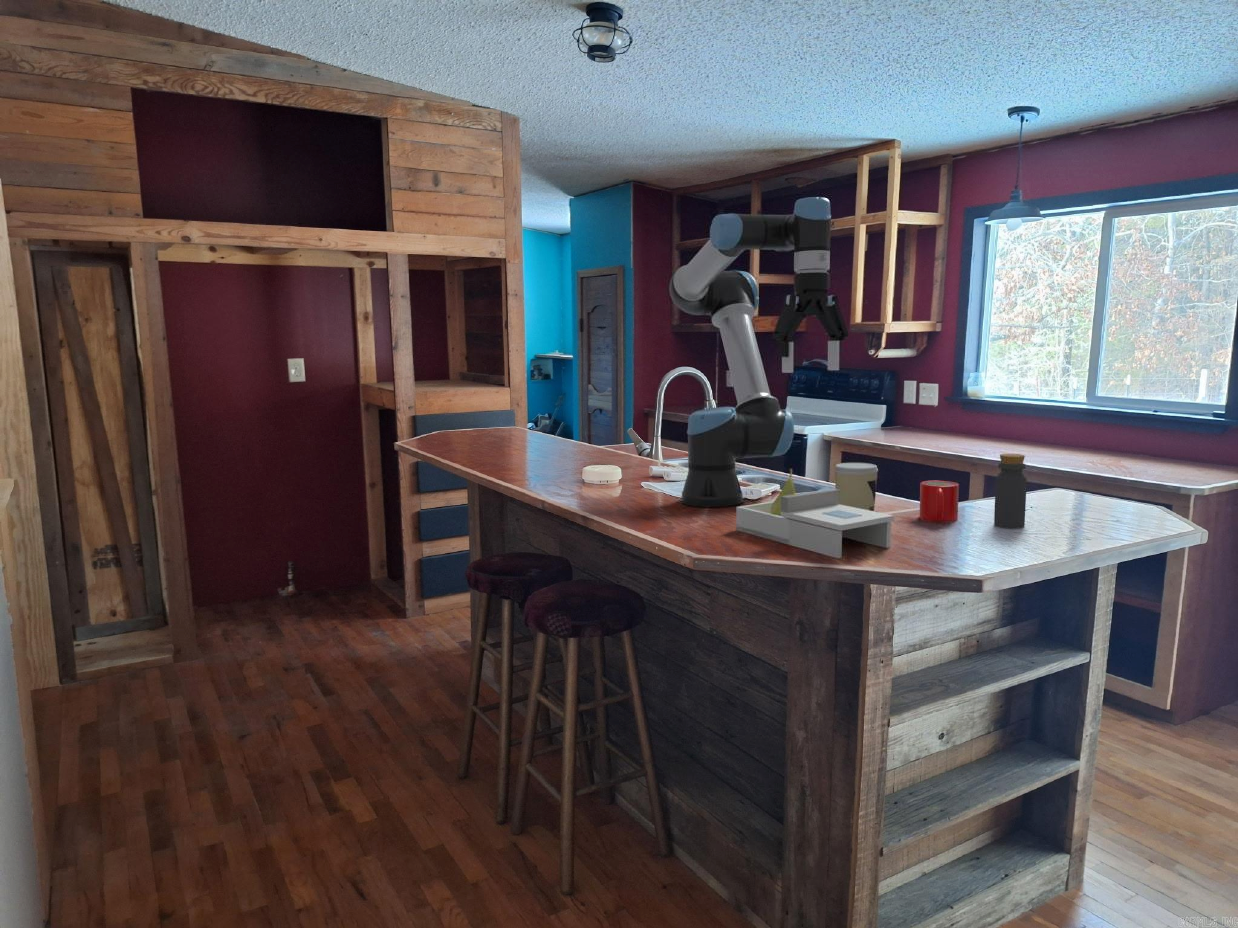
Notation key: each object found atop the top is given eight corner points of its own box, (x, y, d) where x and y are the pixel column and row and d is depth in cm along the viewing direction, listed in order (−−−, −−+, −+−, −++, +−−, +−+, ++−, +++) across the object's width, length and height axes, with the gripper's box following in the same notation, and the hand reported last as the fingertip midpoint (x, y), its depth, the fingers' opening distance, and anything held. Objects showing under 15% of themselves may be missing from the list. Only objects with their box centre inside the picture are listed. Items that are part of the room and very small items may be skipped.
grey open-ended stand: (736, 530, 178) (736, 506, 177) (786, 521, 185) (786, 499, 184) (837, 558, 153) (838, 531, 152) (890, 547, 160) (890, 521, 159)
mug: (921, 525, 178) (922, 489, 177) (918, 514, 189) (919, 480, 188) (961, 527, 176) (962, 490, 175) (955, 515, 187) (957, 480, 186)
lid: (780, 516, 165) (780, 496, 165) (831, 507, 172) (832, 488, 172) (840, 530, 152) (841, 509, 151) (893, 520, 159) (894, 500, 158)
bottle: (1000, 521, 180) (1003, 452, 178) (1028, 525, 176) (1032, 454, 174) (989, 525, 176) (992, 455, 174) (1018, 529, 172) (1021, 457, 170)
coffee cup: (879, 523, 181) (880, 468, 179) (834, 522, 182) (835, 468, 181) (874, 514, 190) (876, 462, 188) (832, 514, 191) (833, 462, 190)
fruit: (768, 530, 172) (768, 473, 170) (774, 523, 179) (774, 467, 177) (801, 532, 170) (801, 474, 168) (805, 524, 177) (806, 468, 175)
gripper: (780, 269, 171) (779, 374, 174) (865, 272, 184) (864, 369, 187) (755, 272, 177) (755, 373, 180) (840, 275, 190) (839, 369, 193)
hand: (810, 371), depth 184 cm, fingers open, 13 cm apart
